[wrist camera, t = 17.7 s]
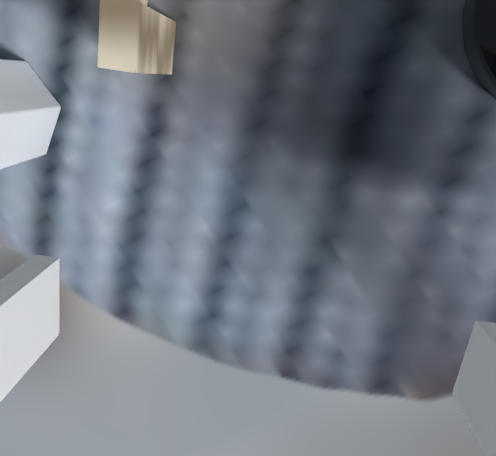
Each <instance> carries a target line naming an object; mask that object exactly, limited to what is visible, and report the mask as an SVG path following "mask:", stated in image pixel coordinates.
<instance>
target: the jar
mask: <svg viewBox="0 0 496 456" xmlns="http://www.w3.org/2000/svg"><path fill="white" fill-rule="evenodd" d="M60 109H61V106H60V105H59V103H58V102H57V101H56V99H55V98H54V97H53V96H52V94H51V93H50V92H49V90H48V89H47V88H46V87H45V85H44V84H43V83H42V81H41V80H40V79H39V78H38V76H37V75H36V74H35V72H34V71H33V70H32V69H31V67H30V66H29V65H28V63H27V62H26V61H19V60H4V59H0V169H3V168H6V167H10V166H13V165H16V164H19V163H22V162H25V161H28V160H31V159H34V158H37V157H40V156H43V155H45V154H46V153H47V150H48V147H49V144H50V141H51V138H52V135H53V131H54V128H55V125H56V122H57V119H58V116H59V113H60Z"/></svg>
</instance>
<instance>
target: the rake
mask: <svg viewBox="0 0 496 456" xmlns="http://www.w3.org/2000/svg"><path fill="white" fill-rule="evenodd" d="M147 2H148V0H100V12H99V43H98V68H105V69H112V70H119V71H126V72H133V73H149V74H172V68H173V56H174V43H175V31H176V22H175V21H173V20H171V19H170V18H168V17H166V16H164V15H162V14H160V13H159V12H157V11H155V10H153V9H151V8H149V7H148V6H147Z"/></svg>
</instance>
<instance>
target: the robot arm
mask: <svg viewBox="0 0 496 456" xmlns="http://www.w3.org/2000/svg"><path fill="white" fill-rule="evenodd" d="M463 39H464V46H465V50H466V54H467V57H468V60H469V63H470V65H471V67H472V69H473V71H474V73H475V75H476V77H477V78H478V80H479V81H480V82H481V84H482V85H483V86H484V87H485V88H486V89H487V90H488V91H489V92H490V93H491V94H492V95H493V96H494V97H496V0H466V2H465V7H464V13H463ZM58 335H59V258H54V257H48V256H41V255H34V256H33V257H32V258H30V259H29V260H27V261H26V262H25V263H23V264H22V265H20V266H19V267H18V268H16V269H15V270H14V271H12V272H11V273H9V274H8V275H7V276H5V277H4V278H2V279H1V280H0V402H1V400H3V398H4V397H5V396H6V395H7V394H8V393H9V391H10V390H11V389H12V388H13V387H14V386H15V384H16V383H17V382H18V381H19V380H20V378H22V376H23V375H24V374H25V373H26V372H27V371H28V369H29V368H30V367H31V366H32V365H33V364H34V363H35V361H36V360H37V359H38V358H39V357H40V356H41V355H42V353H43V352H44V351H45V350H46V349H47V348H48V346H49V345H50V344H51V343H52V342H53V341H54V339H55V338H56V337H57V336H58ZM452 395H453V397H454V399H455V401H456V403H457V404H458V406H459V408H460V410H461V412H462V414H463V416H464V417H465V419H466V421H467V423H468V425H469V427H470V429H471V430H472V432H473V434H474V436H475V438H476V440H477V441H478V443H479V445H480V447H481V449H482V451H483V453H484V454H485V456H496V323H491V322H484V321H477V320H476V321H475V324H474V327H473V331H472V334H471V337H470V340H469V343H468V346H467V349H466V352H465V355H464V358H463V361H462V365H461V368H460V371H459V374H458V377H457V380H456V383H455V386H454V389H453V392H452Z"/></svg>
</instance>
